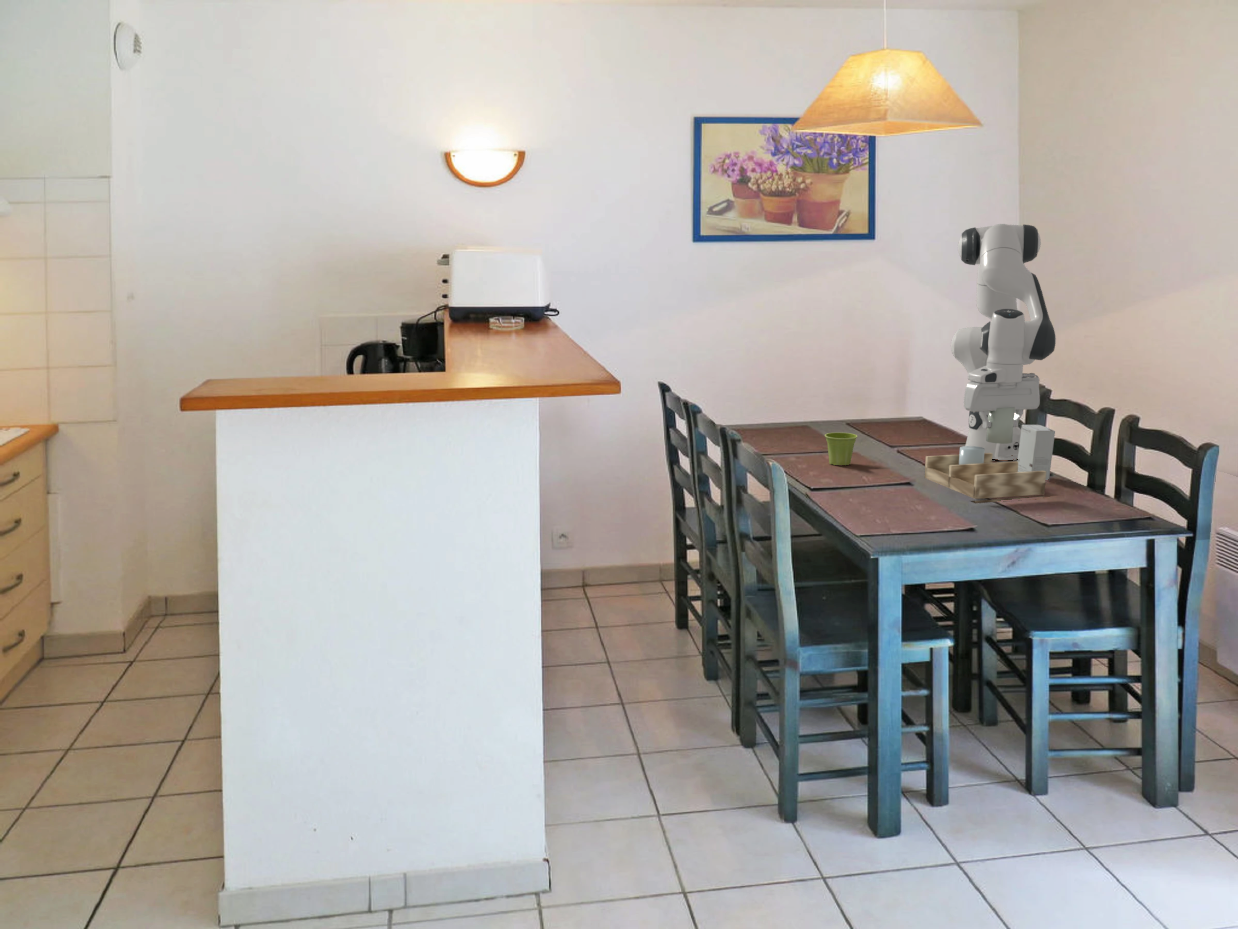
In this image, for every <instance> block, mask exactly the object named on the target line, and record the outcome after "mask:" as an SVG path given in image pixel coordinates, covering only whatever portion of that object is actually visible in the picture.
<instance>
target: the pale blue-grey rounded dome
mask: <svg viewBox="0 0 1238 929" xmlns="http://www.w3.org/2000/svg"><path fill="white" fill-rule="evenodd" d="M984 453H985V449H984V448H982V447H977V446H965V445H963V446H960V447H959V454H958V455H959V465H961V464H979V463H984Z"/></svg>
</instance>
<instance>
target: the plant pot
mask: <svg viewBox="0 0 1238 929" xmlns="http://www.w3.org/2000/svg"><path fill="white" fill-rule="evenodd" d="M824 437H825V440H826V443H827V444H826V445H827V451H828V452H827V453H828V464H829V465H833V466H835V465H845V466H849V464H850V465H851V464H852V463H851V462H852V456H853V450H854V446H855V443H856V440H857V439H858V435H857V434H854V433H850V432H829V433H826V434H824Z"/></svg>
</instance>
